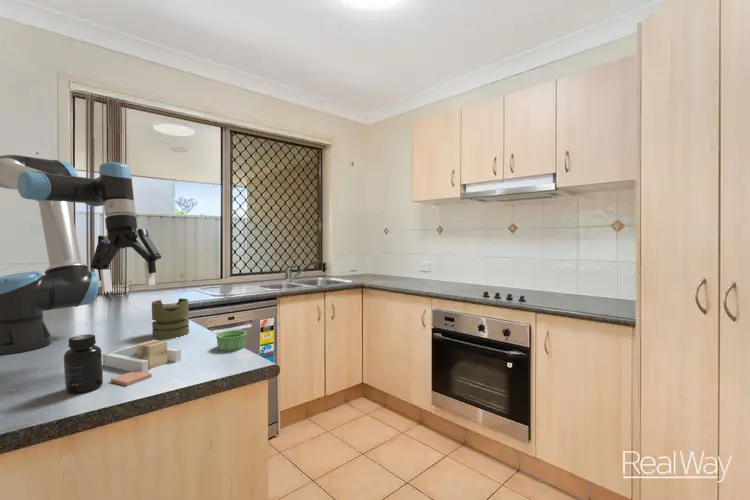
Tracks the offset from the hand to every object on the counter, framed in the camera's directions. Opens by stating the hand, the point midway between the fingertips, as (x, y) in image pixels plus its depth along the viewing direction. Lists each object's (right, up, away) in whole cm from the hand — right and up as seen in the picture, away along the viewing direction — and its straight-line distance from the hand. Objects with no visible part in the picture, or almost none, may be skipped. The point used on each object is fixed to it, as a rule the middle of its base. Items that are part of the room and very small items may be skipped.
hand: (129, 288), depth 107 cm
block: (+11, -20, -7) cm, 24 cm away
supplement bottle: (+5, -21, -22) cm, 31 cm away
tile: (+12, -20, -17) cm, 29 cm away
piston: (-1, -19, +24) cm, 31 cm away
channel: (+7, -20, -5) cm, 22 cm away
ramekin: (+26, -20, +9) cm, 34 cm away
